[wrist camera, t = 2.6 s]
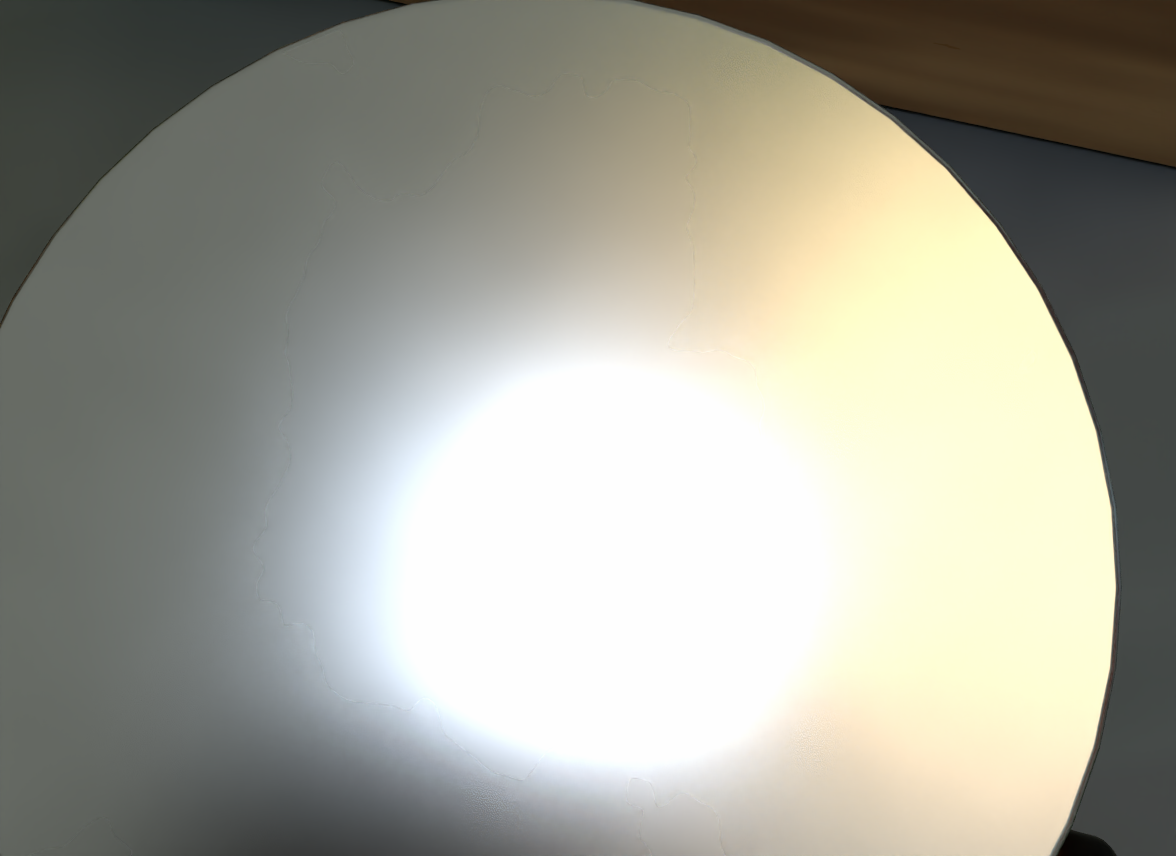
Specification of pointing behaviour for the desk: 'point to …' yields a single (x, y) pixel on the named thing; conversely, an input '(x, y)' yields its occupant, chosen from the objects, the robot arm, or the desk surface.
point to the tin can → (544, 469)
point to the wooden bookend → (991, 61)
